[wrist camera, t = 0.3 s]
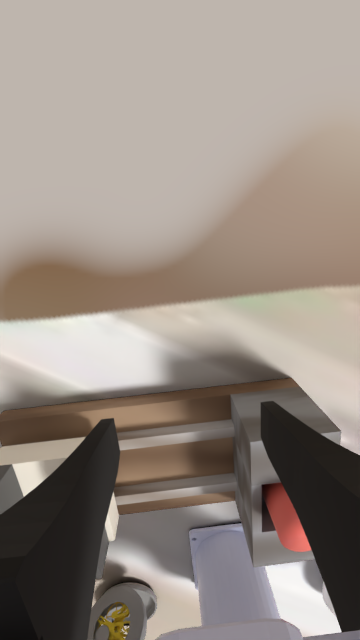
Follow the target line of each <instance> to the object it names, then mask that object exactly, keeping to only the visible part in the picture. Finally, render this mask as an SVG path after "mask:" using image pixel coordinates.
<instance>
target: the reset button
mask: <svg viewBox="0 0 360 640" xmlns="http://www.w3.org/2000/svg"><path fill="white" fill-rule="evenodd" d="M262 495H263V498H264V500H265V503H266V505H267V508H268V511H269V513H270V516H271V519H272V521H273V524H274V526H275V529H276V532H277V534H278V537H279V540H280V542H281V544H282V545H283V546H284V547H285V548H287V549H289V550H292V551H296V552H305V551H310V550H311V547H310V545H309V542H308V540H307V537H306V535H305V532H304V530H303V527H302V525H301V523H300V520H299V518H298V515H297V513H296V511H295V509H294V507H293V505H292V503H291V501H290V499H289V497H288V495H287V493H286V491H285V489H284V487H283V485H282V483H281V482H280V483H271V484H263V485H262Z"/></svg>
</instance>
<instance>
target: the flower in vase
mask: <svg viewBox="0 0 360 640" xmlns="http://www.w3.org/2000/svg"><path fill="white" fill-rule="evenodd" d="M323 599H324V602H325V604H326V605H327V607H328V608H329V609H330V610H331V612H332V613H333V614H334V615H335V616H336V614H335V611H334V608H333V605H332V603H331V600H330V597H329V595H328V592H327V589H326V586H325V584H324V581H323Z"/></svg>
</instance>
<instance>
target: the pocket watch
mask: <svg viewBox="0 0 360 640" xmlns="http://www.w3.org/2000/svg"><path fill="white" fill-rule="evenodd" d="M156 609H157V598H156V595H155V594H154V592H153V591H152V590H151V589H150V588H148V587H147V586H145V585H143V584H139V583H130V582H129V583H121V584H118V585H115V586H112V587H111V588H110V589H108V590H107V591H106V592H105V593H104V595H103V596H102V597H101V598H100V599H98V601H97V602H96V603H95V605H94V606H93V607H92V609H91V615H90V622H89V630H88V638H87V640H144V639H145V635H146V627H147V620H148V619H150V618H151V617H152V616H153V615H154V613H155V611H156ZM104 620H105V621H104ZM111 622H112V623H111ZM101 624H103V626H102V625H101ZM123 626H130V627H129V628H126V629H127V630H125V629H124V627H123ZM122 628H123V630H124V631H125V632H127V633H128V634H127V635H126V634H124V633H125V632H123V631H122V630H121V629H122ZM121 631H122V632H121ZM123 637H126V638H123Z"/></svg>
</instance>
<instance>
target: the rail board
mask: <svg viewBox="0 0 360 640" xmlns="http://www.w3.org/2000/svg"><path fill="white" fill-rule="evenodd" d="M266 401H274V402H275V403H277V404H278V405H280V406H281V407H282V408H284V409H285V410H286V411H288V412H289V413H290V414H292V415H293V416H295V417H296V418H297V419H299V420H300V421H302V422H303V423H305V424H306V425H308V426H309V427H311V428H312V429H314V430H315V431H317V432H318V433H320V434H321V435H323V436H325V437H326V438H328V439H330V440H331V441H333V442H335V443H337V444H339V445H340V439H341V430H340V429H339V428H338V427H337V426H336V425H335V424H334V423H333V422H332V421H331V420H330V419H329V418H328V416H327V415H326V414H325V413H324V412H323V411H322V410H321V409H320V408H319V407H318V406H317V405H316V404H315V402H314V401H313V400H312V399H311V398H310V397H309V396H308V395H307V394H306V393H305V392H304V391H303V390H302V388H301V387H300V386H299V385H298V384H297V383H296V382H295V381H294V380H293V379H292V378H286V379H277V380H268V381H260V382H251V383H242V384H233V385H225V386H216V387H207V388H199V389H190V390H181V391H172V392H164V393H155V394H146V395H138V396H129V397H120V398H111V399H103V400H94V401H85V402H77V403H68V404H59V405H50V406H42V407H33V408H24V409H15V410H7V411H3V412H2V413H1V415H0V442H1V444H2V447H4V446H12V445H21V444H30V443H38V442H47V441H55V440H64V439H72V438H81V437H87V435H88V434H89V433H90V432H91V431H92V429H93V428H94V427H95V426H96V425H97V424H98V422H99V421H100V420H101V419H109V418H114V421H115V427H116V432H117V437H118V442H119V448H120V460H119V467H118V474H117V478H116V482H115V486H114V491H113V492H114V496H115V501H116V505H117V510H118V514H119V515H123V514H131V513H139V512H147V511H155V510H163V509H171V508H179V507H187V506H195V505H203V504H211V503H219V502H227V501H236V504H237V508H238V512H239V516H240V519H241V523H242V527H243V531H244V534H245V538H246V542H247V545H248V549H249V553H250V557H251V560H252V564H253V567H261V566H268V565H276V564H284V563H291V562H299V561H307V560H315V557H314V555H313V552H312V550H310V551H305V552H296V551H292V550H289V549H287V548H285V547H284V546H283V545H282V544H281V542H280V540H279V537H278V534H277V532H276V529H275V526H274V524H273V521H272V519H271V516H270V513H269V511H268V508H267V505H266V503H265V500H264V498H263V495H262V485H263V484H271V483H280V482H281V481H280V479H279V477H278V475H277V474H276V472H275V470H274V468H273V466H272V464H271V462H270V460H269V458H268V455H267V453H266V450H265V448H264V445H263V442H262V439H261V402H266Z"/></svg>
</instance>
